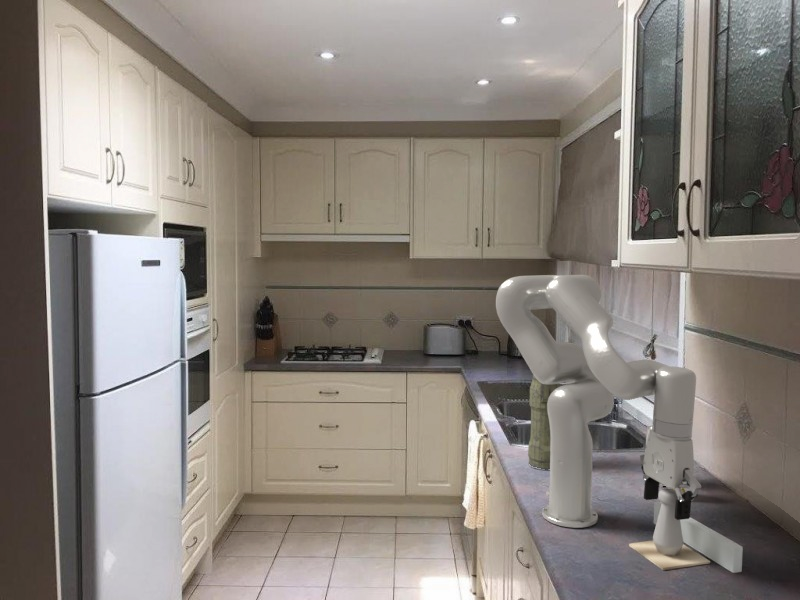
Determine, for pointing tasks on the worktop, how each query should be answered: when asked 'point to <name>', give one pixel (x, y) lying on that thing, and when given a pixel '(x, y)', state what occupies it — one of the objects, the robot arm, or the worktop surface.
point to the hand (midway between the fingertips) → (665, 508)
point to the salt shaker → (668, 525)
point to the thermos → (540, 424)
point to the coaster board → (669, 562)
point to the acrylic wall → (709, 542)
